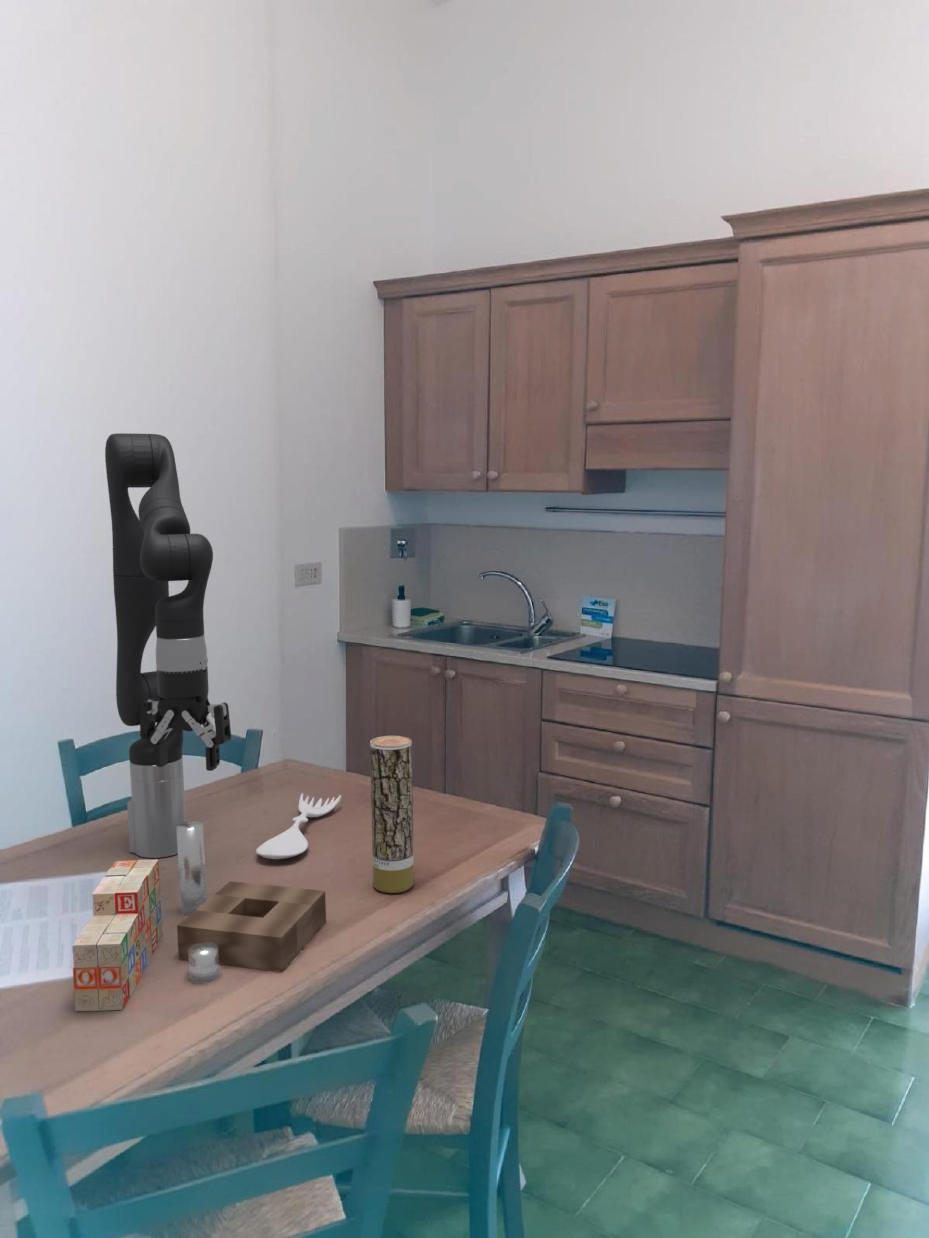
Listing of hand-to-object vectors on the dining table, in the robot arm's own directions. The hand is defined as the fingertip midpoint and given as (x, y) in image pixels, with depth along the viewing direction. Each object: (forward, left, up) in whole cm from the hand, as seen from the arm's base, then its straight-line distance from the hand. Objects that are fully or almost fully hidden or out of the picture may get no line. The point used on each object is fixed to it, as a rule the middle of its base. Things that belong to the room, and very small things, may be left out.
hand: (187, 767), depth 155 cm
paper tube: (+28, +16, -24) cm, 40 cm away
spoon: (+3, +35, -24) cm, 43 cm away
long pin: (0, 0, -23) cm, 23 cm away
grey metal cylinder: (+12, -19, -23) cm, 32 cm away
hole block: (+14, -7, -23) cm, 28 cm away
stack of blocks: (0, -20, -24) cm, 31 cm away
